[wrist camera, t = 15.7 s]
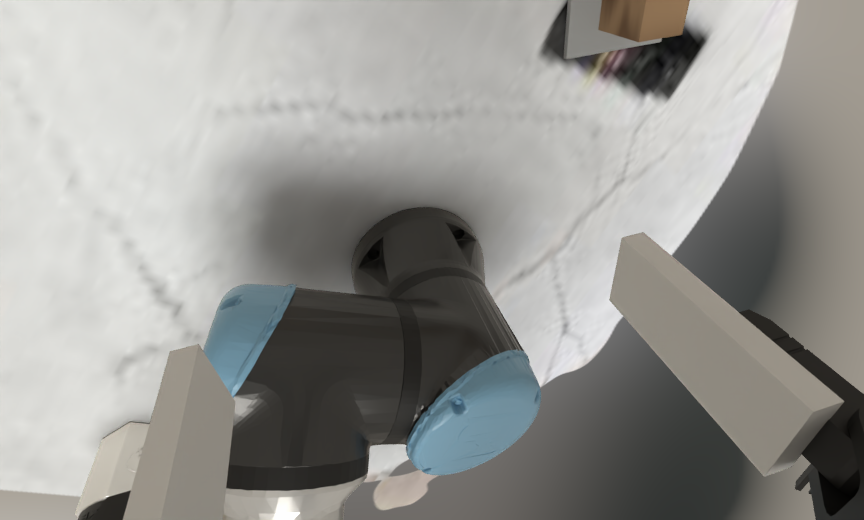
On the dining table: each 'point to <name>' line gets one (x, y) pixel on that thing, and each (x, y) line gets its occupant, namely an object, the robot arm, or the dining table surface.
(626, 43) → the rest mat
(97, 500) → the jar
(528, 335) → the dining table surface
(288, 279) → the dining table surface
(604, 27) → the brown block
